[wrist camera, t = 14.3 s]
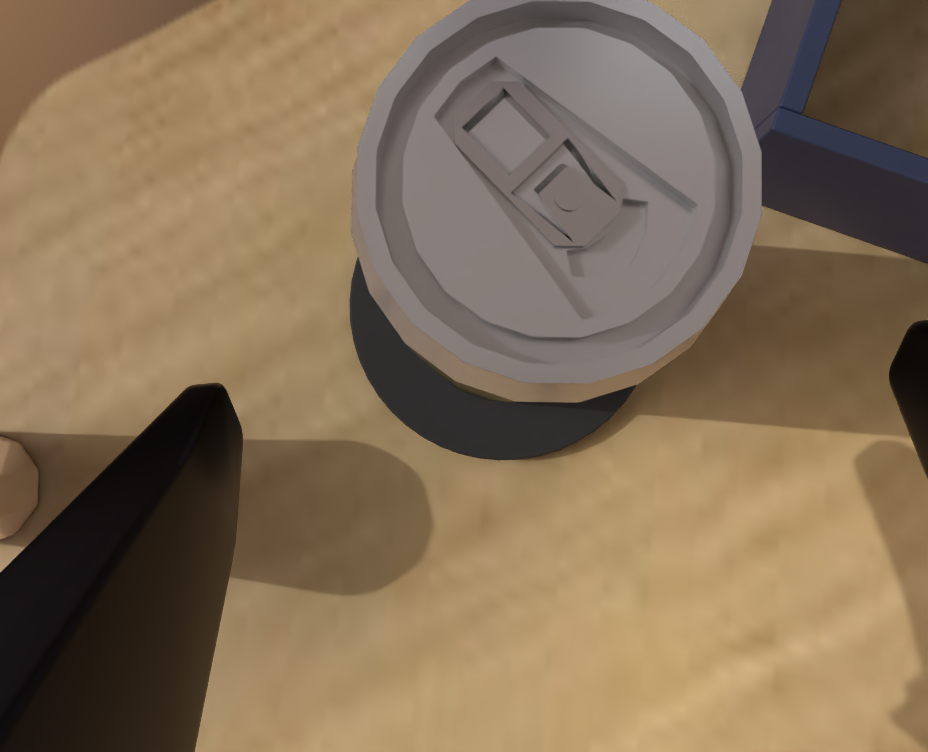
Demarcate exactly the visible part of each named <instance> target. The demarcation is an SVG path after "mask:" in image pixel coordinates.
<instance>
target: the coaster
mask: <svg viewBox="0 0 928 752" xmlns="http://www.w3.org/2000/svg"><path fill="white" fill-rule="evenodd" d="M350 322H351V328H352V334H353V341H354V344H355V347H356V351H357V354H358V357H359V360H360V363H361V365H362V367H363V369H364V371H365V374H366V376H367V378H368V380H369V381H370V383H371V385H372V386H373V388H374V389H375V391H376V393H377V394H378V396H379V397H380V398H381V400H382V401H383V402H384V403H385V404H386V406H387V407H388V408H389V409H390V410H391V412H392V413H394V414H395V415H396V416H397V417H398V418H399V419H400V420H401V421H402V422H403V423H404V424H405V425H406V426H408V427H409V428H411V429H412V430H413V431H415V432H416V433H418V434H419V435H420V436H422V437H424V438H425V439H427V440H429V441H431V442H433V443H435V444H437V445H439V446H440V447H443V448H446V449H448V450H451V451H454V452H456V453H459V454H463V455H468V456H472V457H476V458H483V459H493V460H517V459H525V458H531V457H537V456H542V455H545V454H548V453H551V452H555V451H558V450H560V449H563V448H565V447H567V446H569V445H571V444H574V443H576V442H578V441H579V440H581V439H583V438H584V437H586V436H587V435H589V434H591V433H592V432H594V431H595V430H596V429H598V428H599V427H600V426H601V425H602V424H604V423H605V422H606V421H607V420H608V419H610V418H611V417H612V416H613V415H614V413H615V412H616V411H617V410H618V409H619V408H620V407H621V406H622V405H623V404H624V403H625V401H626V400H627V398H628V397H629V395H630V394H631V393H632V391H633V390H634V388H635V387H636V385H634V386H631V387H627V388H624V389H621V390H618V391H614V392H611V393H608V394H605V395H601V396H598V397H595V398H592V399H589V400H585V401H582V402H579V403H575V402H508V401H488V400H485V399H482V398H479V397H476V396H473V395H470V394H467V393H465V392H462V391H460V390H459V389H457V388H456V387H455V386H453V385H452V384H451V383H449V382H448V381H447V380H445V379H444V378H443V377H441V376H440V375H439V374H437V373H436V372H435V371H434V370H433V369H432V368H431V367H430V366H429V365H428V364H427V363H426V362H425V361H423V360H422V359H421V358H420V357H419V356H418V355H417V354H416V353H415V352H414V351H413V350H412V349H411V348H410V347H408V346H407V345H406V344H405V342H404V341H403V340H402V338H401V337H400V335H399V334H398V333H397V331H396V330H395V328H394V327H393V325H392V324H391V323H390V321H389V320H388V318H387V317H386V315H385V314H384V313H383V311H382V310H381V308H380V307H379V305H378V304H377V303H376V301H375V300H374V298H373V297H372V296H371V294H370V293H369V290H368V287H367V283H366V280H365V277H364V274H363V270H362V267H361V264H360V261H359V257H358V258H357V261H356V265H355V269H354V273H353V278H352V283H351V293H350Z"/></svg>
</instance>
